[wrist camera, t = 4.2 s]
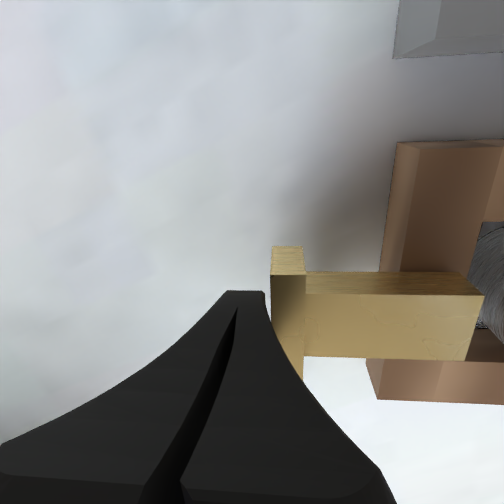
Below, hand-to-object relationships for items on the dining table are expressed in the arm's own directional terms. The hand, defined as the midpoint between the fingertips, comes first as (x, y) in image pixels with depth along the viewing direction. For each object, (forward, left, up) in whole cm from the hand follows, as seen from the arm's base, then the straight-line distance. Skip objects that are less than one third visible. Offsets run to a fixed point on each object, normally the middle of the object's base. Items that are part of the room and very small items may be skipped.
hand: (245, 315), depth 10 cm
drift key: (-4, 0, -1) cm, 4 cm away
